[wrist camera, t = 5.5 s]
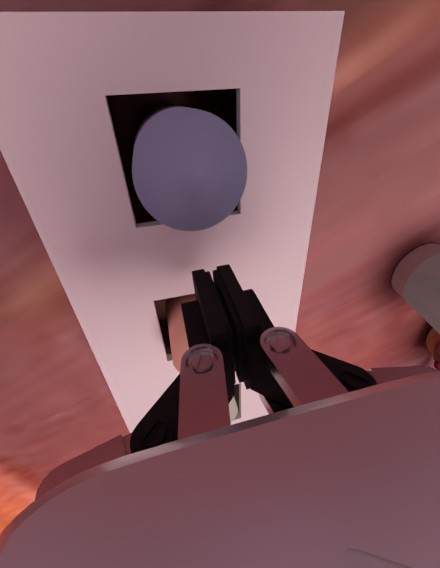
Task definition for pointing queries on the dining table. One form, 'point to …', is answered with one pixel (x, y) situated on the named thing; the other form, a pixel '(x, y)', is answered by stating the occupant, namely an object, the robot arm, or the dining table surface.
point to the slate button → (188, 167)
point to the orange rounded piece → (177, 327)
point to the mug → (434, 346)
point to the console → (112, 183)
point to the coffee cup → (421, 282)
